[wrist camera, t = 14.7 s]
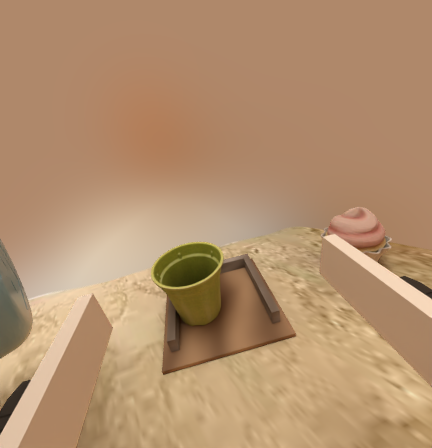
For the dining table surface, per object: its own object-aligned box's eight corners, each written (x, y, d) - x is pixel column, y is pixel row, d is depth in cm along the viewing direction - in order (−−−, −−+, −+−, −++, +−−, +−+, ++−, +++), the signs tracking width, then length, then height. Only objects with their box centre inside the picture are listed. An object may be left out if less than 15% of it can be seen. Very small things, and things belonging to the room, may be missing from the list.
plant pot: (246, 303, 30) (238, 254, 26) (196, 354, 24) (177, 301, 21) (204, 278, 36) (193, 235, 33) (157, 314, 31) (138, 268, 27)
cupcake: (319, 276, 33) (322, 219, 28) (319, 244, 40) (321, 195, 36) (394, 286, 29) (411, 222, 24) (379, 248, 36) (390, 194, 32)
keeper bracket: (163, 374, 23) (156, 361, 22) (168, 281, 38) (164, 271, 37) (295, 336, 25) (295, 321, 24) (252, 260, 39) (250, 249, 38)
